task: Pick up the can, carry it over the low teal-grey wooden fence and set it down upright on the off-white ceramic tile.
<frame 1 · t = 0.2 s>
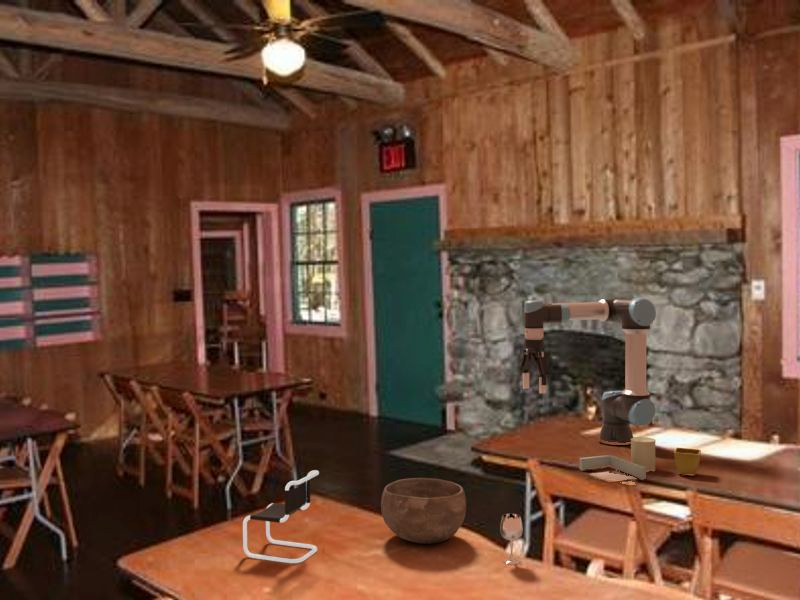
hand: (534, 391, 322), 28 cm above the table, fingers open, 13 cm apart
flower pot: (687, 475, 296), on the table
can: (643, 469, 304), on the table
bowl: (423, 539, 227), on the table
tile: (612, 477, 293), on the table
wineglass: (511, 562, 209), on the table
chair: (281, 553, 217), on the table
fence: (627, 473, 298), resting in tile
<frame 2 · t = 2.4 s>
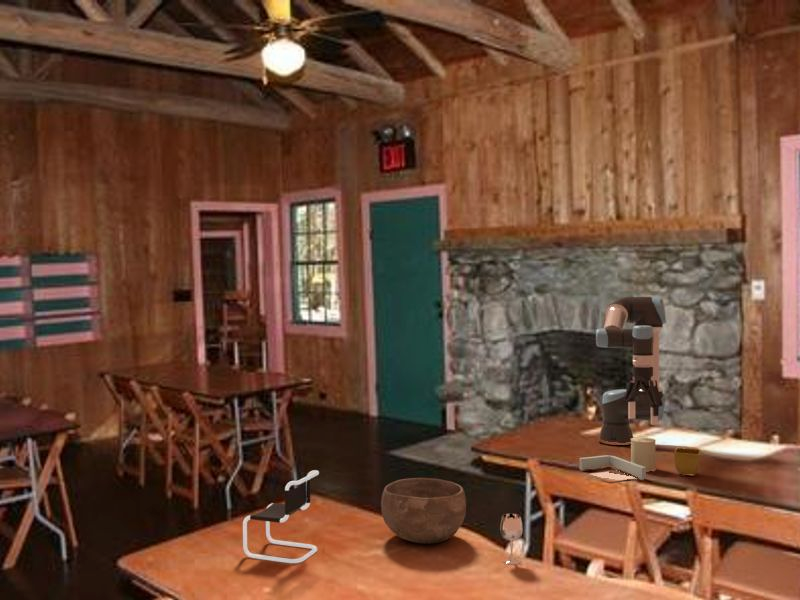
hand: (642, 421, 304), 18 cm above the table, fingers open, 13 cm apart
nothing on the table moved.
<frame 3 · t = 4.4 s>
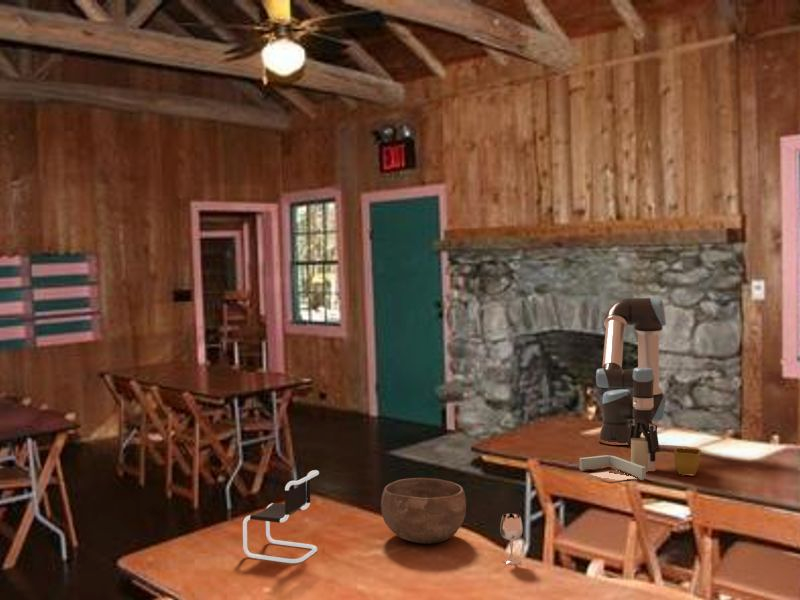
hand: (643, 466, 304), 1 cm above the table, fingers closed on can, 9 cm apart
can: (643, 469, 304), on the table, touching gripper
everything else where it was.
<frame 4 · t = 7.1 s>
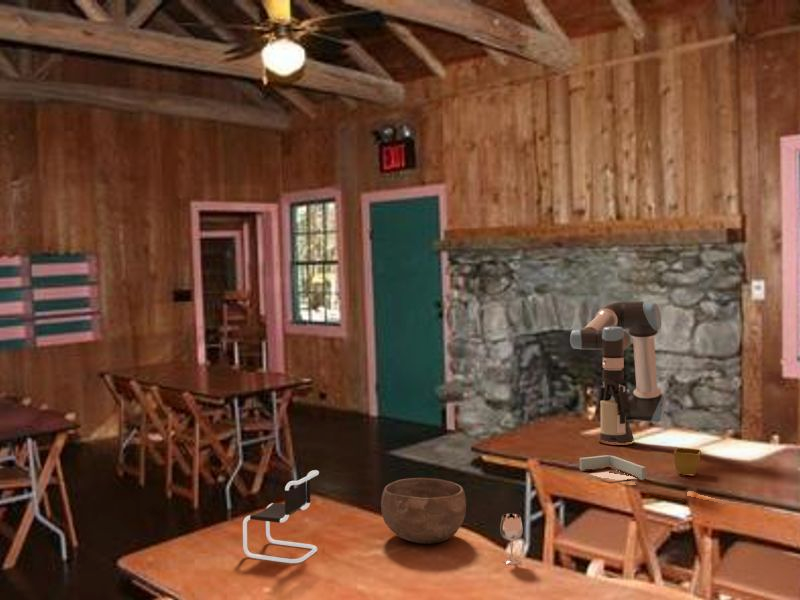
hand: (613, 430, 292), 18 cm above the table, fingers closed on can, 9 cm apart
can: (613, 433, 292), point 16 cm above the table, touching gripper
everything else where it was.
when the fingers open (3 cm above the table, at t = 9.8 s): can drops 1 cm, resting on tile.
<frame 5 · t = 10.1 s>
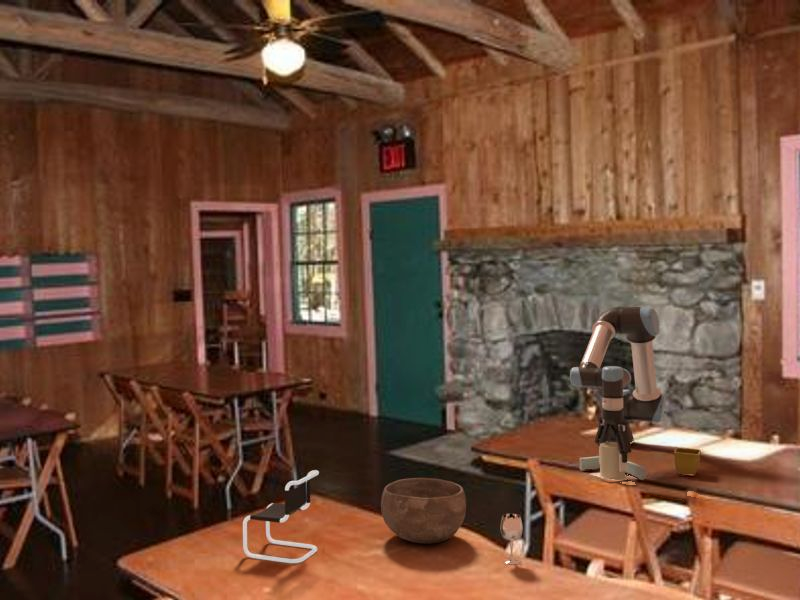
hand: (612, 467, 293), 4 cm above the table, fingers open, 12 cm apart
can: (612, 476, 293), resting on tile
everything else where it was.
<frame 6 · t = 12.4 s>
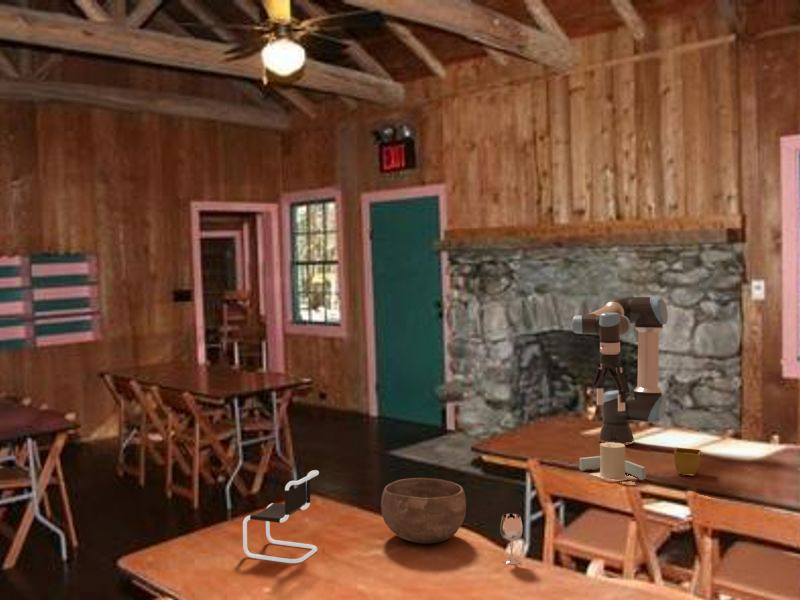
hand: (610, 407, 306), 23 cm above the table, fingers open, 13 cm apart
nothing on the table moved.
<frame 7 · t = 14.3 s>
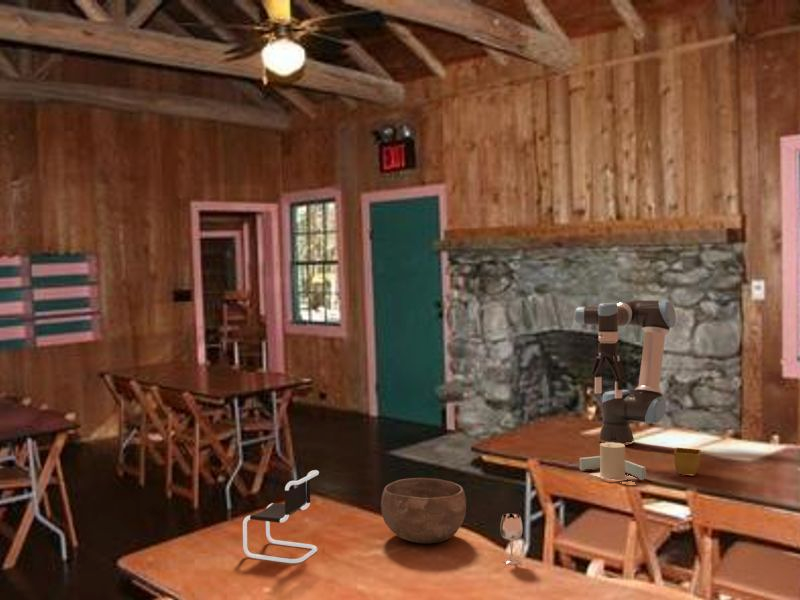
hand: (608, 395, 315), 27 cm above the table, fingers open, 13 cm apart
nothing on the table moved.
at the end: can 0.1 cm from the tile (horizontally); can tilted 0°; the gripper is holding nothing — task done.
